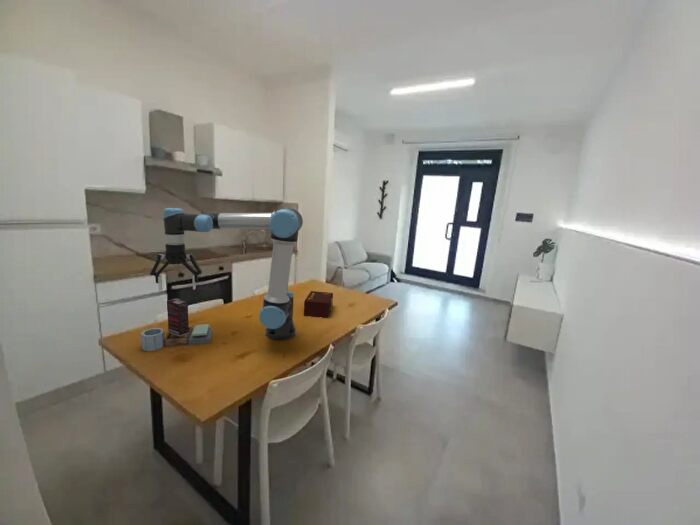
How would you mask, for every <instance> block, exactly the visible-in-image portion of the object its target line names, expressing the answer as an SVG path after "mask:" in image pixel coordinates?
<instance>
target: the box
mask: <svg viewBox="0 0 700 525" xmlns="http://www.w3.org/2000/svg"><path fill="white" fill-rule="evenodd" d="M333 301H334V292H327V291H318V290H317V291H315V290H314V291H313V290H311V291H310V292H309V293H308V295H307V297H306V298H305V299H304V302H303V304H304V305H303V316H304V317H308V316H311V317H310V318H319V317H322V319H329V318H328V317H330V314H331V312H332V311H333V309H334V308H333Z"/></svg>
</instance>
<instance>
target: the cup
mask: <svg viewBox="0 0 700 525" xmlns="http://www.w3.org/2000/svg"><path fill="white" fill-rule="evenodd" d="M140 339H141V350H143V351H144V352H155V351H158V350H161V349H162V348H164V339H165V330H164V329H163V328H160V327H154V328H149V329H145V330H143V331H141V333H140Z"/></svg>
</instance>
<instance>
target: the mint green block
mask: <svg viewBox="0 0 700 525" xmlns="http://www.w3.org/2000/svg"><path fill="white" fill-rule="evenodd" d="M208 328H210V323H209V324H195V325H194V327H193V329H194V330H193V333H192V336H199V335H207V332H208Z"/></svg>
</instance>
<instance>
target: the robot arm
mask: <svg viewBox="0 0 700 525" xmlns="http://www.w3.org/2000/svg"><path fill="white" fill-rule="evenodd" d="M303 220H304V219H303V217H302V215H301V213H300V212H299V211H297V209H294V208H281V209H279V210H273V212H209V213H208V212H207V213H198V214H197V213H185V212H184V209H182V208H178V207H177V208H175V207H166V208H164V209H163V225H164V242H165V243H166V244H165V254H162V253H159V254H157V257H156V259H157V260H156V261H155V263H154V265H153V268H152V269H151V271H150V273H149V274H150V276H154V277H155V283H156V284H158V292H161V291H162V290H163V279H162V272H163V271H164V270H165V269H166V268H168V266H169V265H170V264H171V265H183V266H184V267H185V268H186V269H188V271H190V272H191V273H192V278H191V279H192V290H196V289H197V287H196V286H197V285H196V284H197V282H198V281H199V275H201V274H202V273H203V271H202V269H201V268H200V266H199V264H198V263H197V261H196V259H195V256H194V253H190V254H186V244H185V241H186V240H185V239H186V238H185V232H196V233H197V232H200V233H209V232H211V230H220V229H222V230H225V229H226V230H237V229H239V230H242V229H243V230H253V229H254V230H255V229H256V230H257V229H258V230H262V229H263V230H264V229H266V230H267V229H268V230H271V231H270V240H271V241H272V243H273V245H272V246H273V247H272V254H271V262H270V269H269V270H270V271H269V281H268V286H267V289H268V290H267V294H265V295H264V296H263V302H262V308H261V309H260V312H259V315H258V317H259V322H260V324H262V326H264V327H265V336H266V337H267V338H269V339H271V340H275V341H277V340H278V341H283V340H288V339H291V338H293V337H295V335H296V334H297V333H296V332H297V330H296V326H295V322H294V320H293V318H294V317H293V316H294V299H295V297H294V292H293V291H291V290H289V289H288V288H289V281H290V280H289V279H290V272H291V267H292V266H291V264H292V257H293V251H294V250H293V249H294V245H295V244H297V243H298V238H299V231H300V230H301V228H302V227H303V222H304V221H303ZM164 258H165V260H167V261H166V262H165V263H164V264H163V265H162V267H161V268H160V269H159V270H158V268H159V266H160V264H161V262H162V260H164ZM186 259H189V260H190V262H191V264H192V265H193V266H191V264H189V262H188V261H187V260H186ZM193 267H194V268H193ZM157 270H158V271H157ZM156 271H157V272H156Z"/></svg>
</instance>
